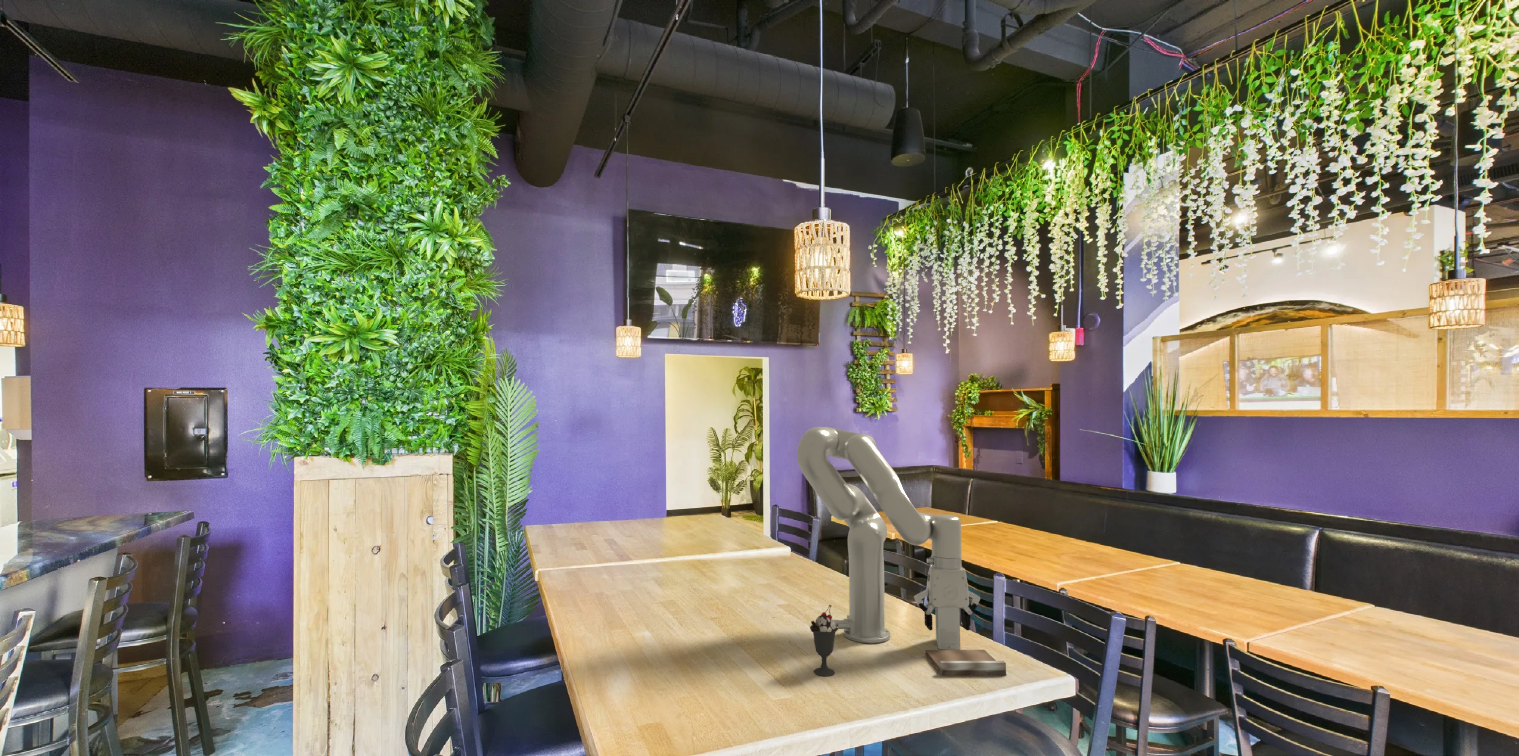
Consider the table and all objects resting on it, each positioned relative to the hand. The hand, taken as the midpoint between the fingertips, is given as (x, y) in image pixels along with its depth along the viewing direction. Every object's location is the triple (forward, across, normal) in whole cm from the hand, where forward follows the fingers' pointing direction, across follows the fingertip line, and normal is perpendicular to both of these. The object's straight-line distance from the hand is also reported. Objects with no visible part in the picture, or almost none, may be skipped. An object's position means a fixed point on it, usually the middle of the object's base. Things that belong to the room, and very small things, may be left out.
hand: (947, 628), depth 164 cm
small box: (+4, 0, 0) cm, 4 cm away
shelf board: (+4, 0, -14) cm, 14 cm away
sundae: (+4, -35, -18) cm, 40 cm away
